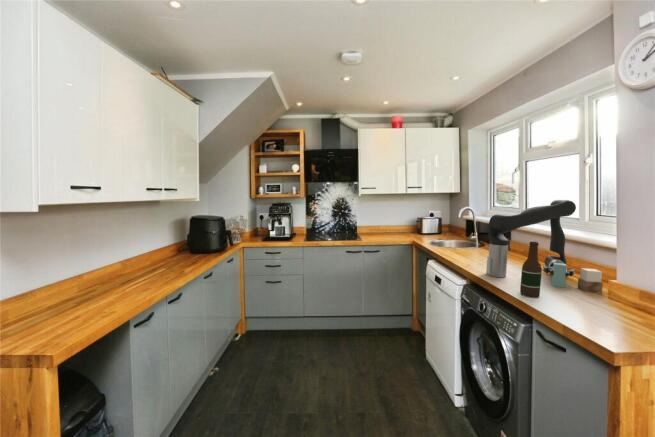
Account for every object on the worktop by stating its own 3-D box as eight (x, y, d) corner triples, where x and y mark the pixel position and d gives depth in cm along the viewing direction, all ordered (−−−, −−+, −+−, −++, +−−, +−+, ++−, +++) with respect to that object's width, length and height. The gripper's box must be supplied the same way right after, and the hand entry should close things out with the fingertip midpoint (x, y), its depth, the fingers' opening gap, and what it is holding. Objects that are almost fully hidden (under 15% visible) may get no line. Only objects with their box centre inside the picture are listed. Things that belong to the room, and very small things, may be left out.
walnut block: (585, 291, 161) (586, 281, 161) (577, 287, 168) (578, 277, 168) (601, 293, 160) (602, 282, 159) (593, 288, 167) (594, 278, 166)
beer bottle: (543, 298, 148) (548, 243, 146) (525, 297, 149) (530, 243, 146) (533, 292, 156) (537, 241, 154) (516, 292, 156) (520, 240, 154)
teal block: (552, 285, 169) (554, 264, 168) (551, 283, 173) (553, 262, 172) (564, 287, 167) (566, 265, 166) (563, 285, 171) (565, 263, 170)
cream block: (586, 281, 161) (587, 270, 161) (580, 278, 167) (581, 268, 167) (601, 282, 160) (602, 271, 160) (594, 279, 166) (595, 269, 165)
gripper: (542, 258, 185) (543, 264, 170) (574, 262, 178) (578, 268, 163) (540, 272, 186) (541, 279, 171) (573, 276, 178) (576, 283, 164)
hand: (559, 273), depth 167 cm, fingers closed on teal block, 5 cm apart
